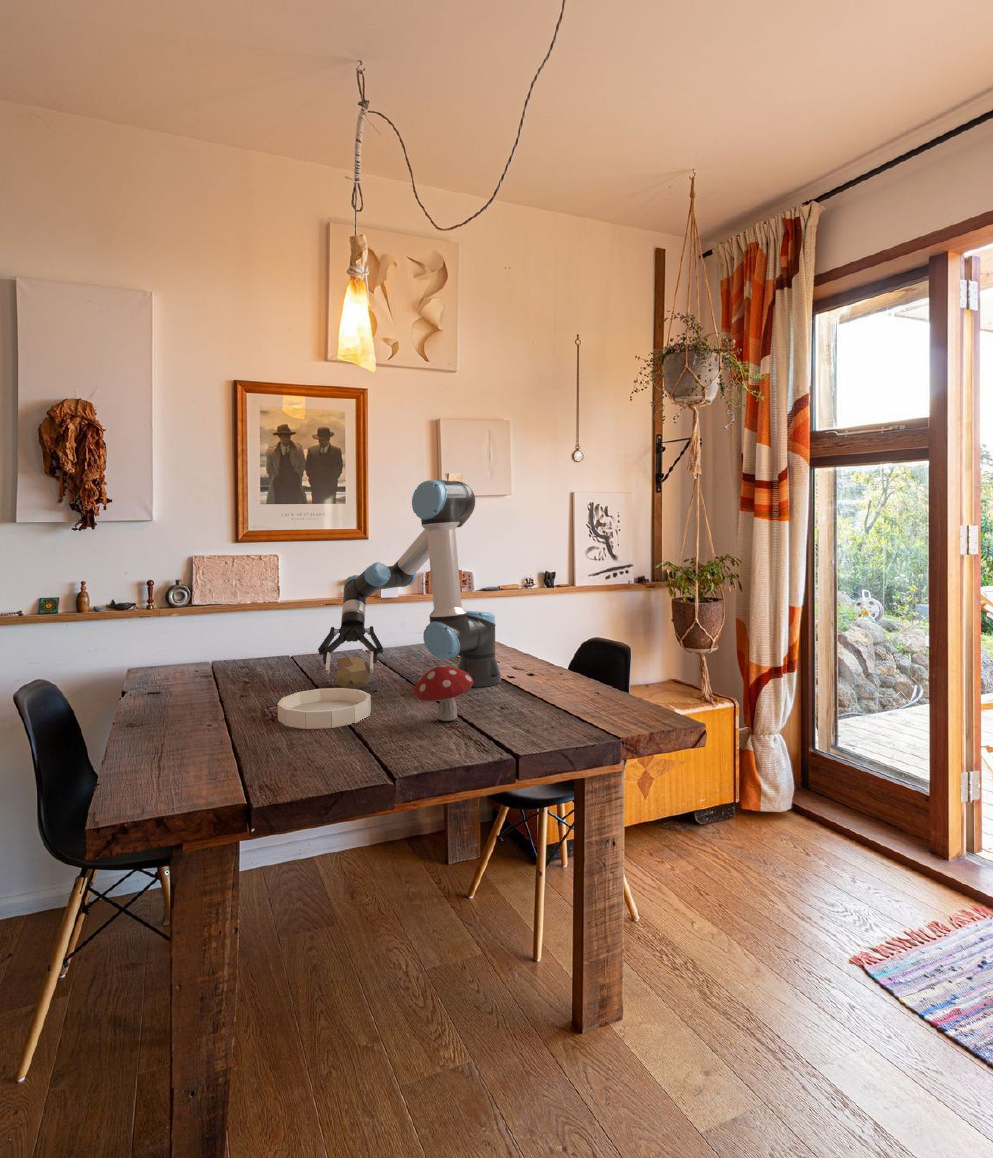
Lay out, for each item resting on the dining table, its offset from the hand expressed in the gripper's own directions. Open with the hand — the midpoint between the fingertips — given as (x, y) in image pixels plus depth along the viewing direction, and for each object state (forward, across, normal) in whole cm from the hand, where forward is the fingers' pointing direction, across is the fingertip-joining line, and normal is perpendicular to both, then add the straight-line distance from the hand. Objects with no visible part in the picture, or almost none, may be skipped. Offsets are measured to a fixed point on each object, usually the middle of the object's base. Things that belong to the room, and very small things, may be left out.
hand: (349, 671), depth 215 cm
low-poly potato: (+4, 0, -5) cm, 6 cm away
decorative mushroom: (+30, -29, +22) cm, 47 cm away
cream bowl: (+23, +3, +16) cm, 28 cm away
